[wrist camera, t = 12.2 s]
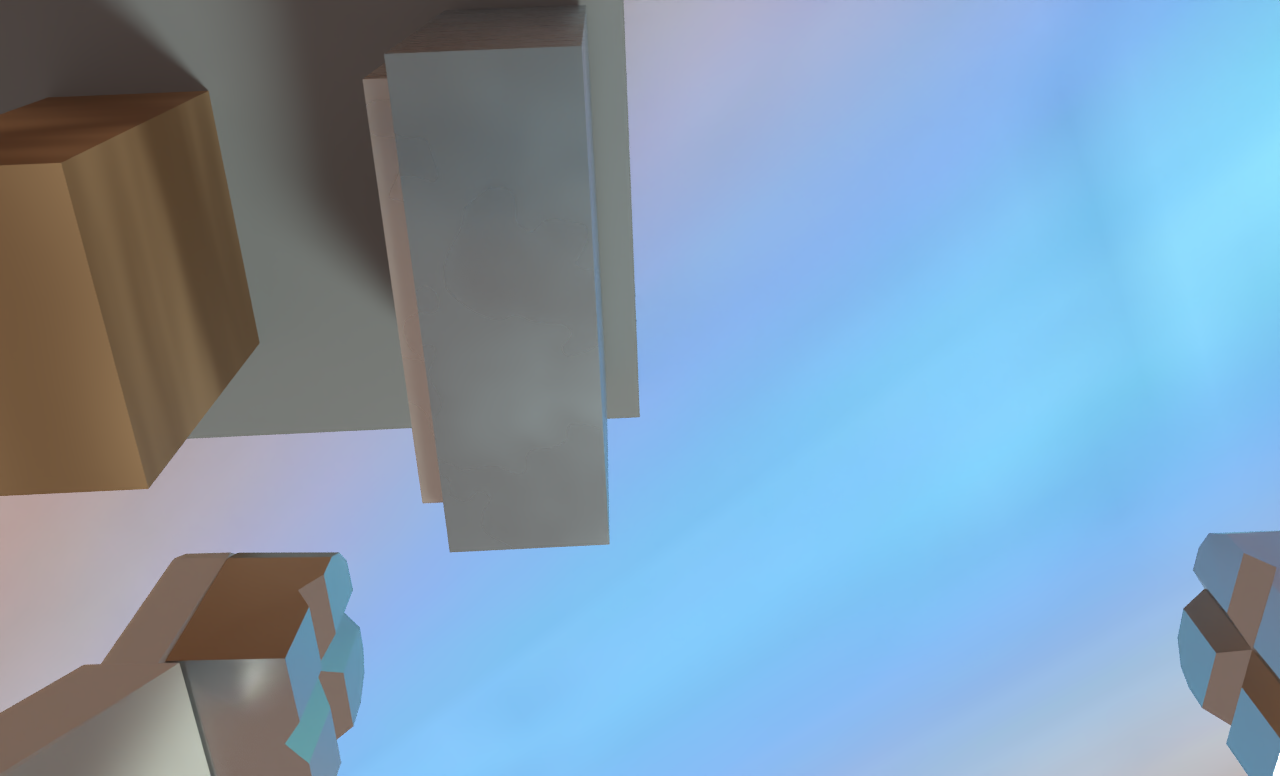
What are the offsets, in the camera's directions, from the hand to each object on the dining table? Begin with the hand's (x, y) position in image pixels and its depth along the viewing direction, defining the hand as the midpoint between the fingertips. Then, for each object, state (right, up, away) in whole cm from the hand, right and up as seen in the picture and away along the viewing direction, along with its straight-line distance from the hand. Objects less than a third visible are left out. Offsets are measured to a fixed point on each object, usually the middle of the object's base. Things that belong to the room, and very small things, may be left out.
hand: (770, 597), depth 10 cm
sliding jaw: (-4, +6, +14) cm, 16 cm away
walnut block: (-12, +6, +14) cm, 20 cm away
